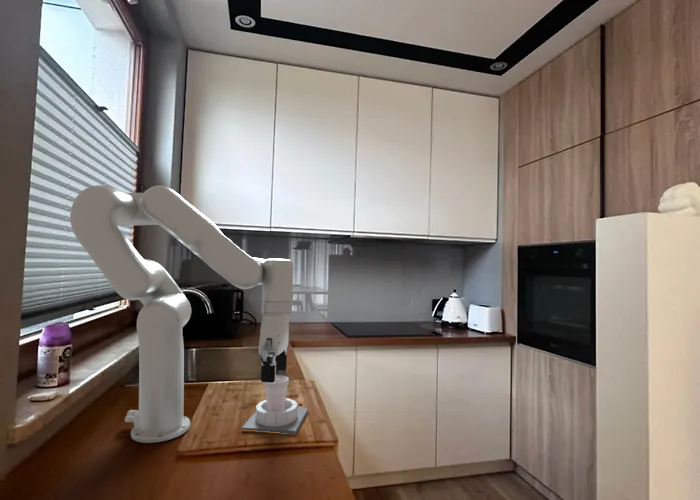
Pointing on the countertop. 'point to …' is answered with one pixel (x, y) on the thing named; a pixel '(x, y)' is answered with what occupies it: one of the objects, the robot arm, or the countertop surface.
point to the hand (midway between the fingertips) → (274, 375)
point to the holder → (277, 418)
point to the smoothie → (276, 393)
